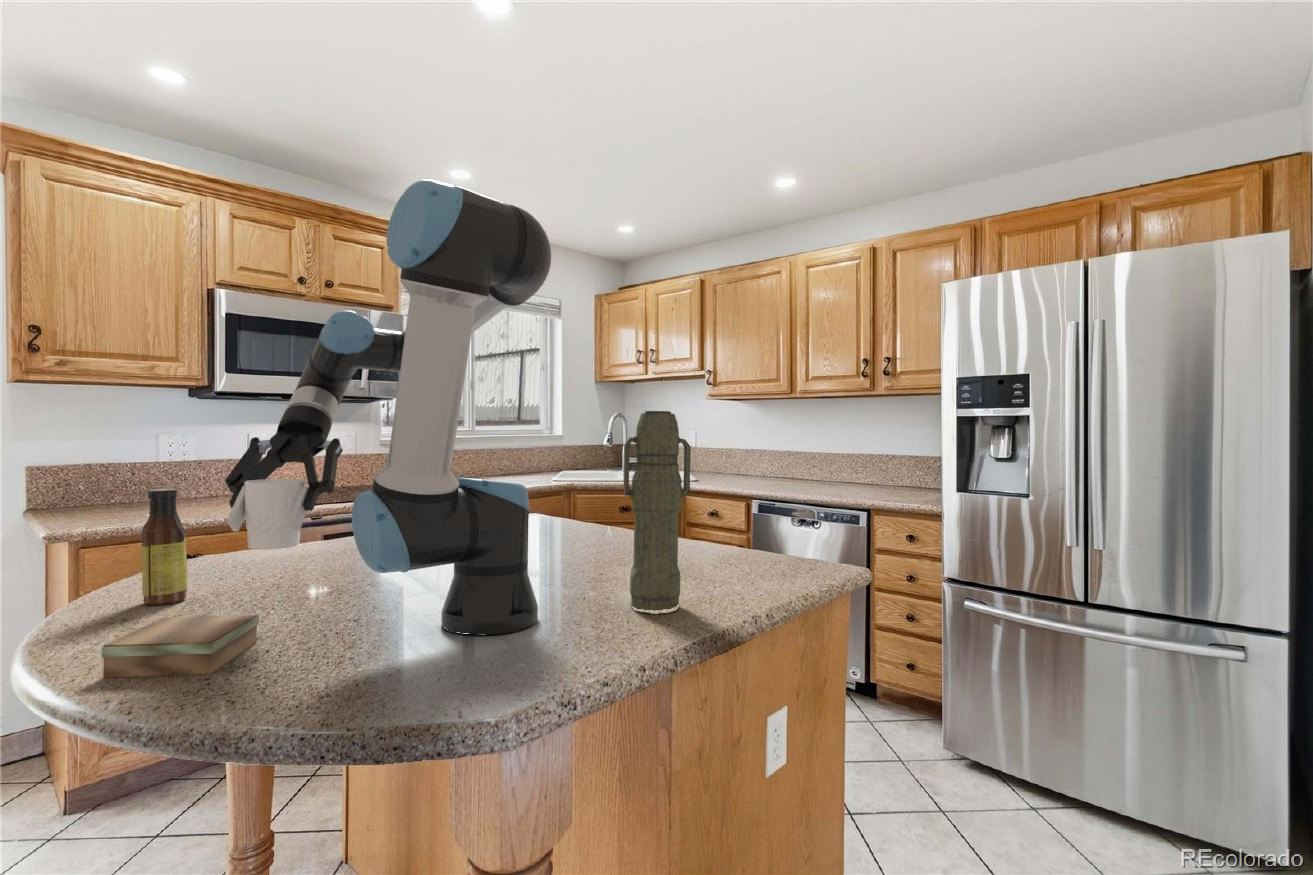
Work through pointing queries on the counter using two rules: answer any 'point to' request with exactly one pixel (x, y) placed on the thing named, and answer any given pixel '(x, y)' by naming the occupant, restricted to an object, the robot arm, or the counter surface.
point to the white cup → (271, 512)
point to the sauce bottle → (163, 551)
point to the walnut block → (180, 646)
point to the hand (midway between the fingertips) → (263, 525)
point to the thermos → (656, 509)
